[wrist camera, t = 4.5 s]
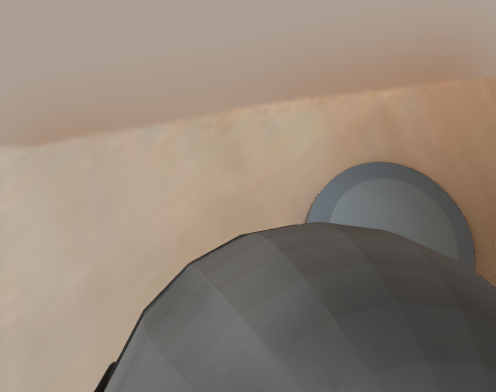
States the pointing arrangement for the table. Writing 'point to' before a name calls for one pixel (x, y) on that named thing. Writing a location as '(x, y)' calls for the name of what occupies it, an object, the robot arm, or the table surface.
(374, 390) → the beverage cup
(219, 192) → the table surface
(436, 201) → the slate dish
